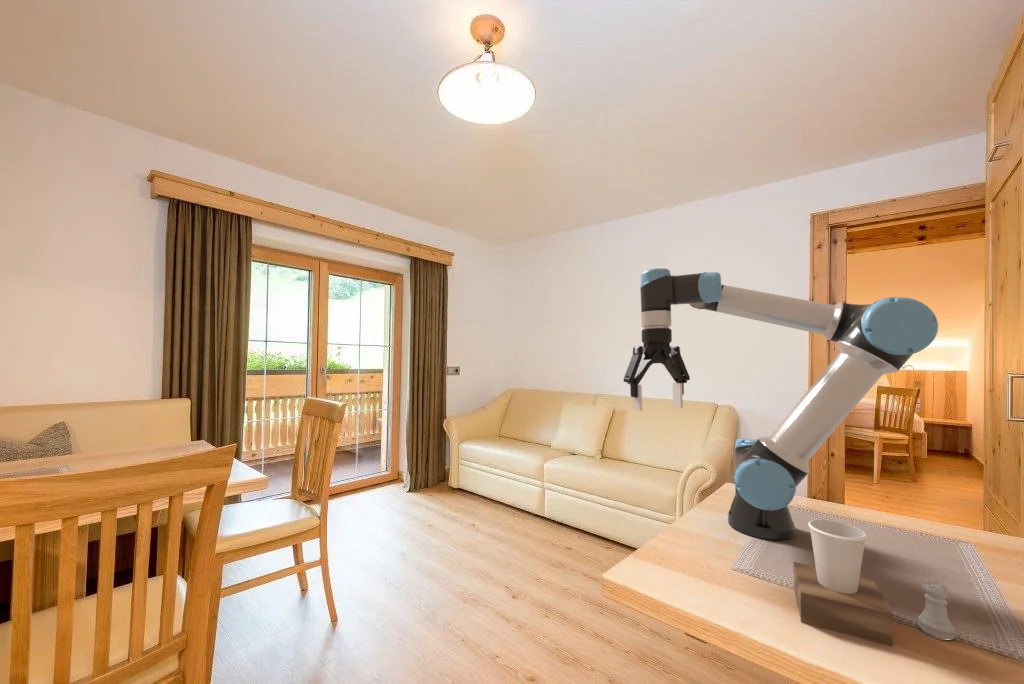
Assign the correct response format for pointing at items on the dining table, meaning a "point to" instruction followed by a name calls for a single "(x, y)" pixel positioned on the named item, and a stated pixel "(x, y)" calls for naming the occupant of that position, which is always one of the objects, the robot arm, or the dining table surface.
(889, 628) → the walnut block
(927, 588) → the rook chess piece
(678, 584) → the dining table surface
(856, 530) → the dixie cup
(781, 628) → the dining table surface
